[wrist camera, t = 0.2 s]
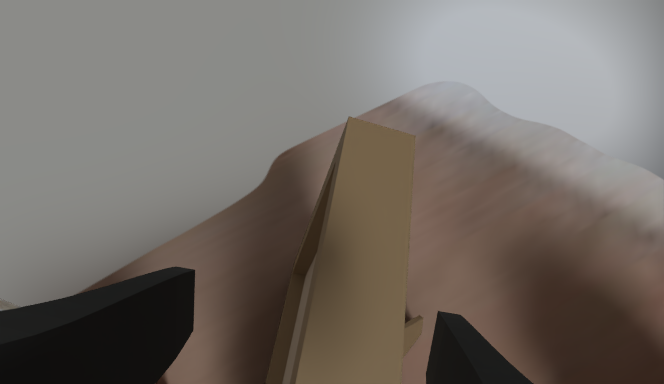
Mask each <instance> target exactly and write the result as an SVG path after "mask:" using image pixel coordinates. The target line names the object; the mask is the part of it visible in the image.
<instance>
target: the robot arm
mask: <svg viewBox="0 0 664 384" xmlns="http://www.w3.org/2000/svg"><path fill="white" fill-rule="evenodd" d="M194 288H195V270H193V269H187V268H181V267H171V268H166V269H162V270H159V271H155V272H152V273H148V274H145V275H142V276H138V277H135V278H132V279H129V280H125V281H122V282H119V283H116V284H112V285H109V286H106V287H102V288H98V289H95V290H91V291H88V292H84V293H80V294H77V295H73V296H70V297H66V298H62V299H58V300H53V301H49V302H44V303H40V304H35V305H30V306H25V307H20V308H15V309H9V310H2V311H0V384H155V383H156V382H157V381H158V380H159V379H160V377H161V376H162V375H163V374H164V373H165V371H166V370H167V369H168V368H169V366H170V365H171V364H172V363H173V361H174V360H175V359H176V357H177V356H178V354H179V353H180V351H181V350H182V348H183V347H184V345H185V343H186V342H187V340H188V338H189V337H190V335H191V333H192V332H193V323H194ZM426 384H533V383H532V382H531V381H530V380H528V379H527V378H526V377H525V376H524V375H523V374H522V373H520V372H519V371H518V370H517V369H516V368H515V367H514V366H513V365H512V364H510V363H509V362H508V361H507V360H506V359H505V358H504V357H503V356H502V355H501V354H500V353H499V352H498V351H497V350H496V349H495V348H494V347H493V346H492V345H491V344H490V343H489V342H488V341H487V340H486V339H485V338H484V337H483V336H482V335H481V334H480V333H479V332H478V331H477V330H476V329H475V328H474V327H473V326H472V325H471V324H470V323H469V322H468V321H467V320H466V319H465V318H463V317H462V316H461V315H458V314H452V313H446V312H440V311H438V314H437V319H436V324H435V330H434V335H433V340H432V345H431V351H430V356H429V361H428V366H427V371H426Z"/></svg>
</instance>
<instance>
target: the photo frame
mask: <svg viewBox="0 0 664 384" xmlns="http://www.w3.org/2000/svg"><path fill="white" fill-rule="evenodd" d="M414 153H415V136H414V135H411V134H408V133H404V132H401V131H397V130H394V129H390V128H387V127H383V126H380V125H376V124H373V123H370V122H366V121H363V120H359V119H356V118H352V117H349V118H348V120H347V123H346V126H345V128H344V131H343V134H342V136H341V139H340V142H339V144H338V147H337V150H336V152H335V155H334V158H333V160H332V163H331V166H330V169H329V171H328V174H327V177H326V179H325V182H324V185H323V187H322V190H321V193H320V195H319V198H318V201H317V203H316V206H315V209H314V211H313V214H312V217H311V219H310V222H309V225H308V227H307V230H306V233H305V235H304V238H303V241H302V243H301V246H300V249H299V252H298V254H297V257H296V260H295V262H294V266H293V270H292V274H291V278H290V282H289V286H288V291H287V295H286V299H285V303H284V307H283V311H282V315H281V320H280V324H279V328H278V332H277V336H276V340H275V344H274V349H273V353H272V357H271V361H270V365H269V369H268V373H267V378H266V382H265V384H401V379H402V361H403V357H404V356H405V355H406V353H407V352H408V351H409V349H410V348H411V347H412V345H413V344H414V343H415V341H416V340H417V339H418V337H419V336H420V335H421V332H422V324H423V317H421V316H420V315H419V316H417V317H415V318H413V319H412V320H410V321H408V322H406V323H405V309H406V292H407V275H408V257H409V240H410V223H411V205H412V188H413V170H414Z"/></svg>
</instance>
